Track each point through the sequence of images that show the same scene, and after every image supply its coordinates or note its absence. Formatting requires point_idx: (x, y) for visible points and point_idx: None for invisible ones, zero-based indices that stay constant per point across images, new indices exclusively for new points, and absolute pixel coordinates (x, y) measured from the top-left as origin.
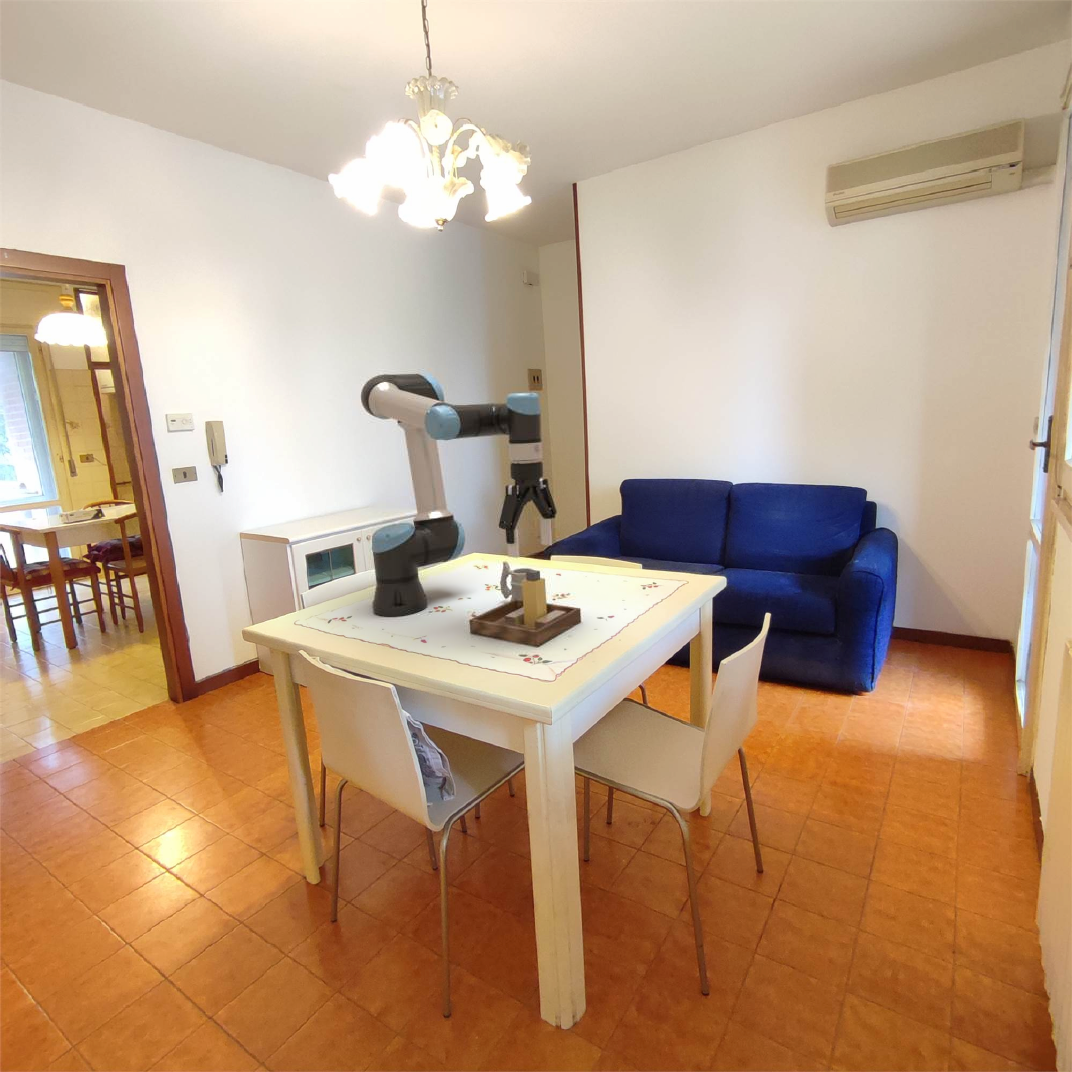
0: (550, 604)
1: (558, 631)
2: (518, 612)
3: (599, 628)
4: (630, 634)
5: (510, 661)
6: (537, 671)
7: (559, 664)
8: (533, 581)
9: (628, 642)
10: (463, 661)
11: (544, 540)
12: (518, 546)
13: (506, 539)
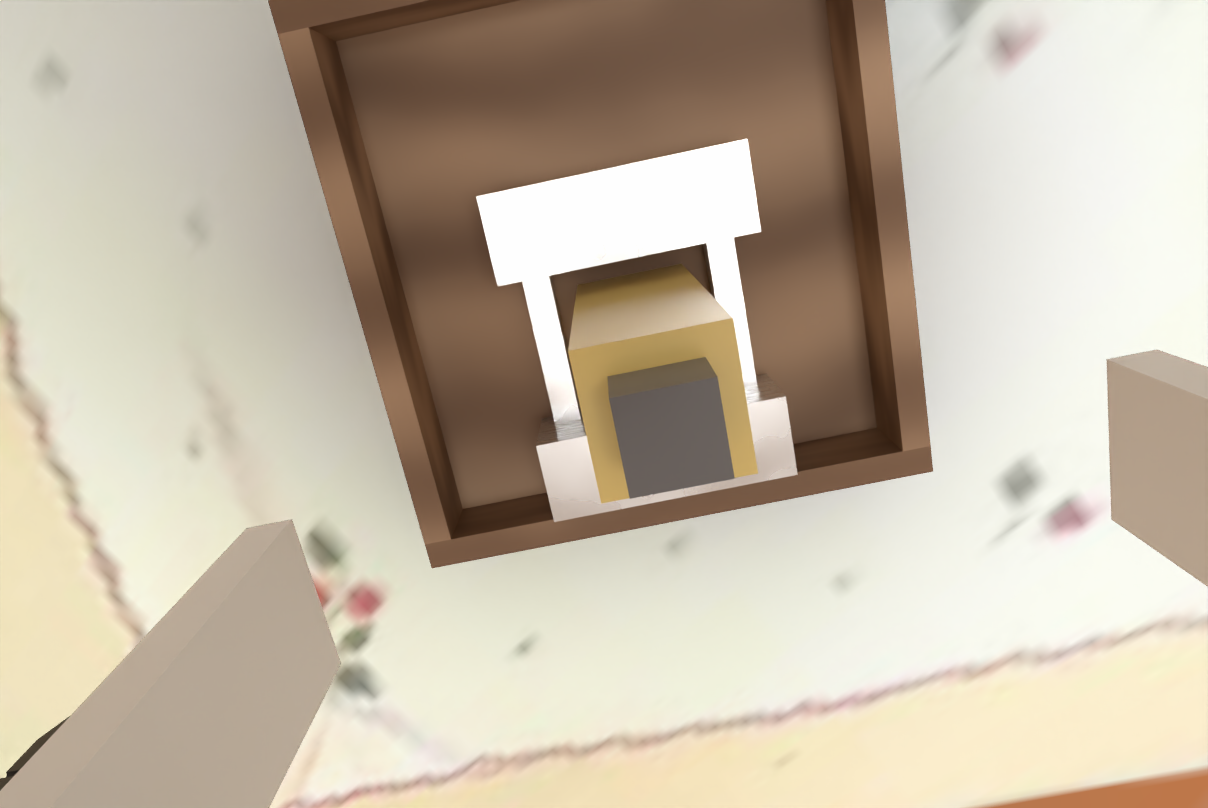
0: (894, 241)
1: None
2: (590, 220)
3: (865, 589)
4: (878, 753)
5: None
6: None
7: (375, 744)
8: (619, 460)
9: (781, 805)
10: (39, 370)
11: (1156, 442)
12: (281, 769)
13: (14, 772)
